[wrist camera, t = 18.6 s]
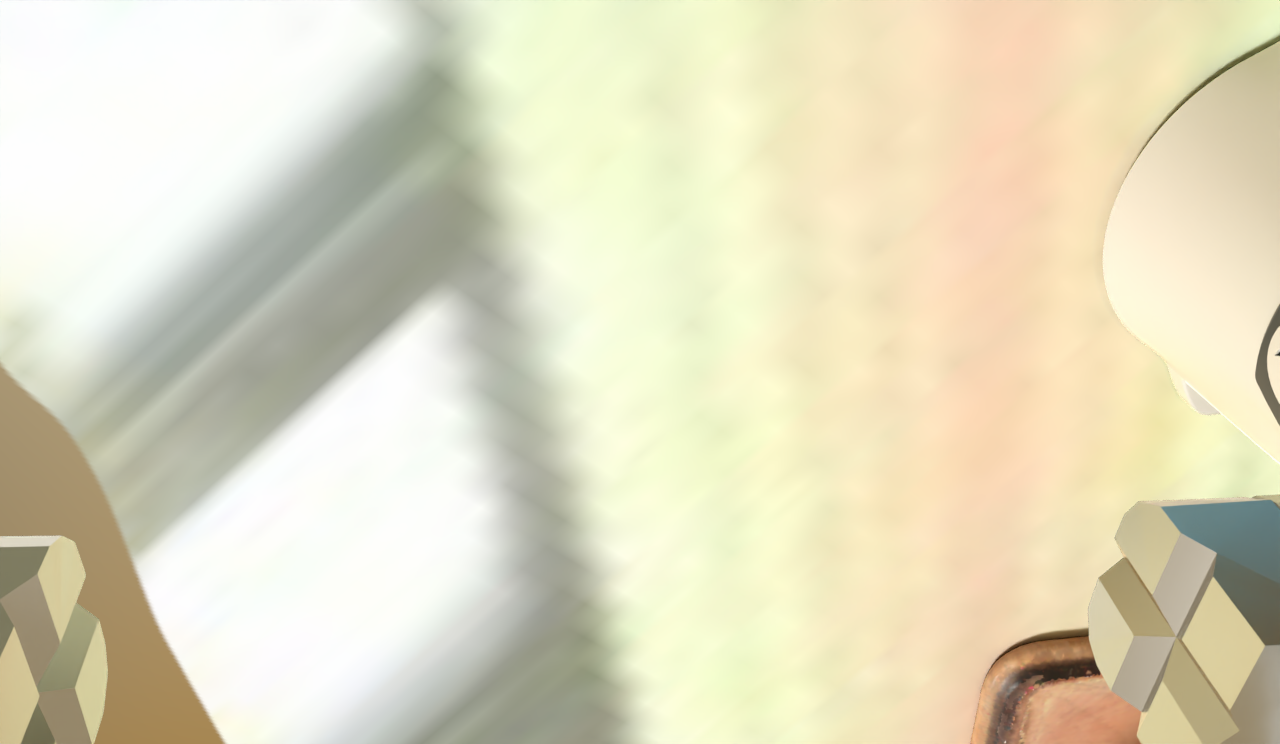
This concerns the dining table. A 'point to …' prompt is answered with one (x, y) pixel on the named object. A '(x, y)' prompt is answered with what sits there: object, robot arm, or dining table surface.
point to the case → (1052, 699)
